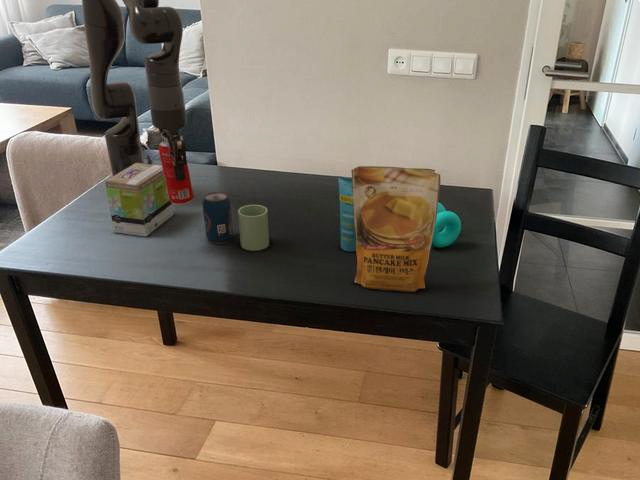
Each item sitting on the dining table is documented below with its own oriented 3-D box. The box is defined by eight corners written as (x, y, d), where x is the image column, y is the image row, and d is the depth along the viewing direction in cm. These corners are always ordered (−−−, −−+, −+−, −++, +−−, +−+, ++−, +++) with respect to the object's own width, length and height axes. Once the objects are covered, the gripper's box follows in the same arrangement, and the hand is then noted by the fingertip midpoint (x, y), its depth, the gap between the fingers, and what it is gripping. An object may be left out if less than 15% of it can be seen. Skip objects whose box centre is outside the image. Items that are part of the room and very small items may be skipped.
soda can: (204, 235, 155) (199, 193, 149) (230, 231, 158) (226, 189, 152) (209, 246, 150) (204, 203, 144) (236, 242, 152) (232, 199, 146)
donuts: (428, 252, 151) (431, 217, 145) (409, 236, 158) (411, 202, 153) (460, 245, 154) (465, 211, 149) (440, 230, 162) (444, 196, 157)
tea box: (148, 237, 153) (139, 184, 146) (113, 233, 155) (102, 180, 147) (175, 214, 166) (168, 164, 158) (142, 210, 167) (134, 161, 160)
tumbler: (236, 241, 153) (233, 207, 148) (263, 235, 156) (260, 202, 151) (246, 253, 147) (244, 218, 143) (273, 247, 151) (272, 213, 146)
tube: (333, 249, 151) (334, 178, 141) (340, 241, 155) (340, 172, 145) (361, 254, 149) (363, 183, 139) (366, 245, 153) (369, 176, 143)
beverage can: (199, 199, 144) (191, 140, 136) (178, 208, 139) (170, 147, 131) (182, 194, 146) (174, 135, 139) (161, 202, 142) (152, 142, 134)
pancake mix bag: (350, 273, 140) (353, 161, 126) (430, 279, 139) (442, 166, 125) (347, 287, 134) (349, 171, 120) (430, 294, 133) (442, 178, 119)
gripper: (193, 110, 127) (201, 183, 136) (175, 95, 138) (184, 164, 146) (158, 114, 124) (169, 188, 132) (142, 98, 134) (153, 168, 143)
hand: (177, 175), depth 139 cm, fingers closed on beverage can, 5 cm apart
